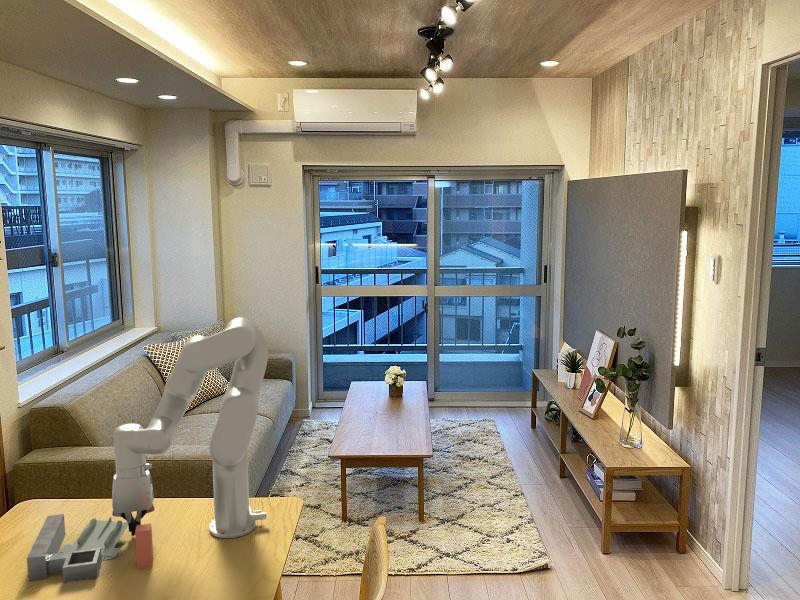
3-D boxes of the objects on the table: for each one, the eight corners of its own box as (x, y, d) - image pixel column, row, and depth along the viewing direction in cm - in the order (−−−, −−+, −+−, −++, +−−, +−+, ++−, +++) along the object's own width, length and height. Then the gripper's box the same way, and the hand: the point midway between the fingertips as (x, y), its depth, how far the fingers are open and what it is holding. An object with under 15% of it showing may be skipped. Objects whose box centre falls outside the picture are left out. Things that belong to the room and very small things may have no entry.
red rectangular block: (153, 559, 167) (151, 523, 165) (152, 566, 163) (150, 530, 162) (138, 561, 166) (136, 525, 164) (137, 569, 162) (135, 532, 161)
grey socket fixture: (111, 528, 182) (110, 508, 181) (97, 578, 158) (95, 555, 157) (49, 536, 178) (47, 515, 177) (25, 588, 154) (23, 565, 153)
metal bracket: (84, 511, 179) (136, 515, 178) (87, 528, 181) (139, 532, 181) (55, 551, 166) (111, 555, 165) (59, 567, 168) (115, 572, 167)
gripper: (161, 461, 180) (164, 523, 183) (103, 467, 176) (107, 530, 179) (159, 472, 173) (163, 536, 176) (98, 479, 169) (103, 544, 172)
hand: (135, 533), depth 177 cm, fingers closed
